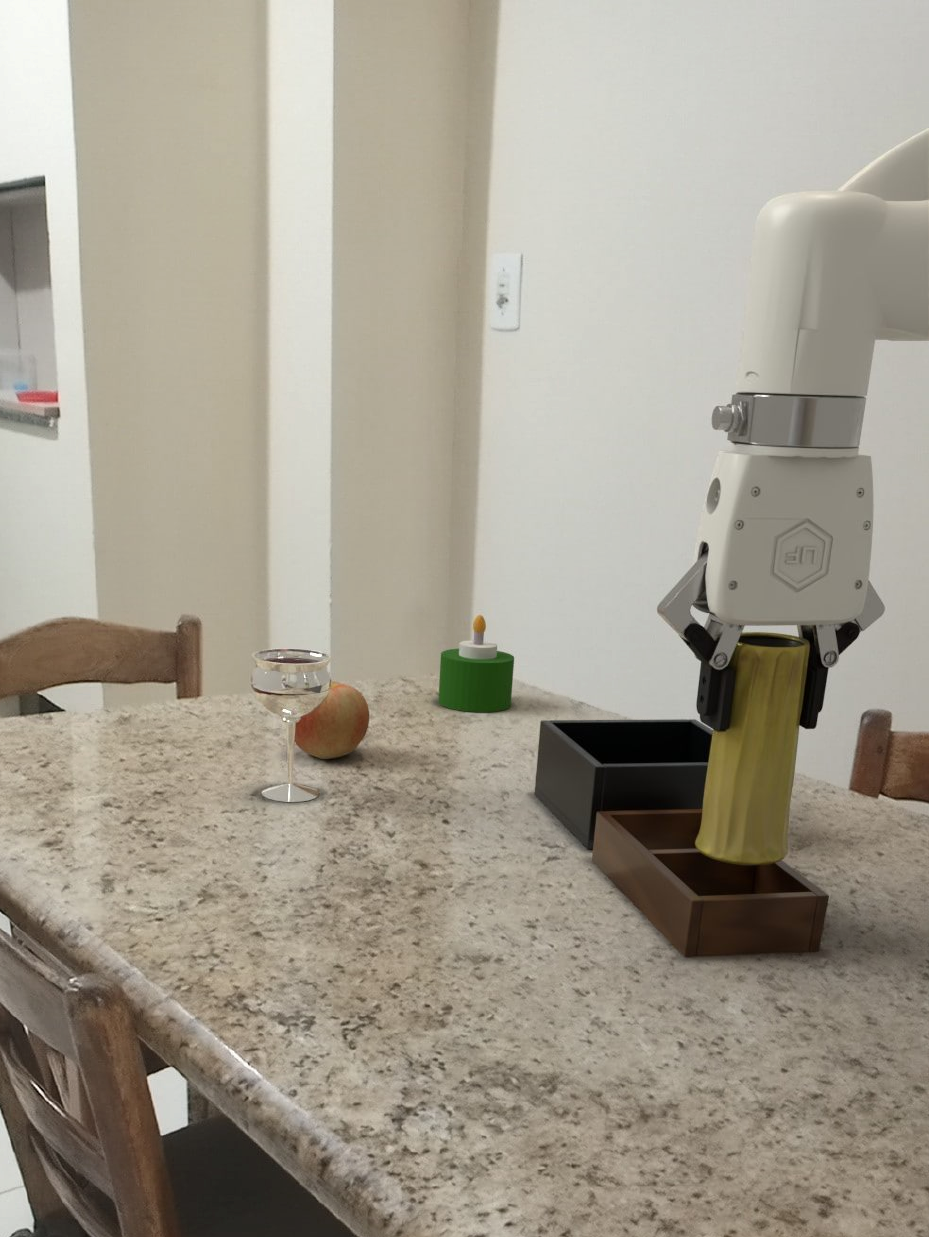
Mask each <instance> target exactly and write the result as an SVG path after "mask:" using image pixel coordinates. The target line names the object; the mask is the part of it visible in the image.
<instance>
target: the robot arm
mask: <svg viewBox="0 0 929 1237" xmlns="http://www.w3.org/2000/svg"><path fill="white" fill-rule="evenodd" d="M749 261H750V263H749V271H748V279H747V288H746V295H745V296H746V297H745V304H744V305H745V306H744V315H743V322H742V324H743V325H742V331H741V332H742V333H741V339H740V340H741V342H740V350H739V359H738V368H737V375H736V376H737V377H736V386H735V392H736V393H735V394H732V395H731V403H728V404H726V405H716V406H715V407H714V408H713V411H712V413H711V426H712V429H713V430H715V431H724V433H727V436H726V437H727V438H726V439H727V440H726V441H729V448H728V449H727V450H726V449H725V450H723V449H722V450H719V452H718V455H717V458H716V461H715V464H714V466H713V470H712V473H711V477H710V480H709V483H708V487H707V490H706V494H705V498H704V501H703V502H704V503H703V507H702V511H701V515H700V516H701V517H700V520H699V523H698V530H697V535H696V540H695V547H694V553H693V560H692V566H691V567H690V568H689V570H688V571H687V572H686V573H685V574H684V575H683V576H682V578H681V579H680V580H679V581H677V583H676V584H675V585H674V586H673V587H672V588H671V590H670V591H669V592H668V593H666V595H665V596H664V597H663V599H662V600H661V601H660V602H659V603H658V605H657V608H656V612H657V614H658V616H660V617H661V619H662V620H663V621H664V622H665V623H666V624H667V625H668V626H669V627H670V628H671V629H672V630H673V631H675V632H676V633H677V635H678V637H680V639H681V640H682V641H683V642H684V643H685V645H686V646H687V647H688V648H689V649H690V650H691V652H692V653H693V654H694V657H695V659H696V660H698V661H699V662H700V667H699V677H698V686H697V694H696V696H697V697H696V702H695V705H696V712H697V713H698V715H699V720H700V723H702V724H704V725H705V726H707V727H708V728H710V729H712V730H713V729H714V730H715V731H717V732H725V731H726V730H727V729H729V727H730V719H731V711H732V703H733V695H734V687H735V679H736V673H735V670H733V669H731V668H729V664H730V659H731V657H732V654H733V652H734V650H735V647H736V645H737V643H738V640H739V638H740V636H741V633H743V631H744V628H745V626H746V627H747V626H749V627H751V626H752V627H753V626H756V627H757V626H758V627H759V626H760V627H761V626H763V627H764V626H765V627H766V626H769V627H771V626H796V629H797V633H798V637H800V638H803V639H806V640H808V641H809V643H810V651H809V658H808V666H807V674H806V682H805V690H804V697H803V705H802V711H801V716H800V724H799V727H801V728H803V729H805V730H815V729H816V728H817V725H818V718H819V714H820V713H821V712H822V711H823V707H824V701H825V695H826V690H827V681H828V674H829V668H833V667H835V666H836V665H837V664H838V662H839V659H840V656H841V654H843V652H844V651H846V650H847V649H848V647H849V646H851V645H852V644H853V643H854V642H855V641H856V640H857V639H858V637H859V636H860V633H861V632H864V631H866V630H867V629H868V628H869V627H870V626H871V625H873V624H874V623H875V622H876V621H877V620H879V619H880V618H881V617H882V616H883V615H884V613H885V610H886V606H885V604H884V602H883V601H882V599H881V597H880V596H879V594H878V593H877V591H876V589H875V588H874V586H873V585H872V583H871V581H870V580H869V579H870V578H869V577H870V570H871V569H870V568H871V558H872V547H873V546H872V545H873V532H874V530H873V529H874V476H873V475H874V474H873V465H872V463H873V462H872V456H871V455H868V454H867V455H866V454H859V451H860V443H861V437H862V429H863V422H864V417H865V410H866V402H867V396H868V391H869V384H870V378H871V370H872V364H873V358H874V357H873V356H874V352H875V351H874V350H875V344H876V341H891V342H929V127H927V128H926V129H923V130H922V131H920V132H918V133H916V134H914V135H912V136H911V137H909V138H908V139H906V140H904V141H902V142H901V143H899V144H897V145H896V146H894V147H892V148H891V149H890V150H887V151H886V152H884V153H882V154H881V155H880V156H878V157H877V158H875V159H874V160H873V161H870V163H868V164H867V165H866V166H864V167H863V168H862V169H861V170H859V171H858V172H857V173H855V174H854V175H853V176H852V177H850V179H848V180H846V182H845V183H844V184H843V185H841V186H840V187H839V188H838V189H837V190H834V189H833V190H829V189H828V190H822V189H821V190H803V191H795V192H789V193H784V194H780V195H778V196H775V197H773V198H771V199H770V200H769V201H767V202H766V203H765V204H764V205H763V206H762V208H761V209H760V211H759V213H758V215H757V218H756V221H755V223H754V230H753V236H752V245H751V253H750V260H749ZM692 607H693V608H695V609H696V610H698V611H699V612H702V613H705V614H708V616H707V618H706V621H705V624H704V626H703V625H701V624H700V623H699V621H697V620H696V619H695V617H694V616H693V615H692V614H691V613H692V612H691V609H692Z"/></svg>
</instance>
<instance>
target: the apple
mask: <svg viewBox="0 0 929 1237" xmlns="http://www.w3.org/2000/svg"><path fill="white" fill-rule="evenodd" d="M366 700H367V699H366V698H365V697H364V695H363V694H362V693H361V691H359V690H358V689H357V688H355V687H353V686H351V685H349V684H348V685H347V684H345V683H341V682H337V681H331V685H330V691H329V694H328V696H327V699H326V700H325V701H324V702H323V703H322V704H321V705H320V706H319V707H318V708H317V709H316V710H315V711H313V712H311V713H309V714H307V715H304V716H302V717H301V719H300V721H299V722H297V723H296V725H295V744H296V746H297V747H298V748H299V749H300V750H301V751H303V753H306V754H308V755H310V756H313V757H315V758H318V759H320V760H330V759H331V760H332V759H337V758H341V757H343V756H347V755H349V754H351V753H353V752H354V751H355V750H356V749H357V748H358V746H360V744H361V743H362V741H363V739H364V738H365V736H366V734H367V733H368V729H369V725H370V709H369V706H368V705H369V704H368V702H367V701H366Z"/></svg>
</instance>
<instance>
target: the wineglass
mask: <svg viewBox="0 0 929 1237" xmlns="http://www.w3.org/2000/svg"><path fill="white" fill-rule="evenodd" d="M251 657H252V659H253V661H254V663H255V667H254V668H253V670H252V673H251V677H250V683H251V684H250V687H251V690H252V692H253V694H254V697H255V698H256V699H257V700H258V701H259V703H260V704H262V706H263V707H264V708H265V709H266V710H267V711H269V712H270V713H273V714H276V715H277V716H278V717H280V719H281V720H282V722H283V723H285V724H286V727H285V728H286V748H287V749H286V755H287V783H284V784H283V783H282V784H277V785H273V786H269V787H266V788H264V789H263V790H262V791H261V795H262V796H263V797H265V798H266V799H268V800H272V801H277V802H283V803H298V802H299V803H300V802H306V801H311V800H313V799H316V798H317V797H319V794H320V793H319V791H318V790H317V789H315V788H312V787H309V786H305V785H301V784H295V783H293V781H294V764H295V762H294V761H295V744H296V743H295V725H296V723H297V722H299V721H300V719H301V717H302V716H304V715H307V714H309V713H311V712H313V711H315V710H316V709H317V708H318V707H319V706H320V705H321V704H322V703H323V702H324V701H325V700H326V699H327V696H328V694H329V691H330V685H331V682H332V676H331V672H330V671H329V669H328V665H329V663H330V661H331V658H332V656H331V655H330V654H329V653H326V652H323V651H320V650H314V649H308V648H306V649H305V648H294V647H293V648H292V647H290V648H289V647H284V648H283V647H282V648H281V647H280V648H278V647H277V648H268V649H267V648H266V649H262V650H261V649H260V650H257V651H254V652H253V653H251Z"/></svg>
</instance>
